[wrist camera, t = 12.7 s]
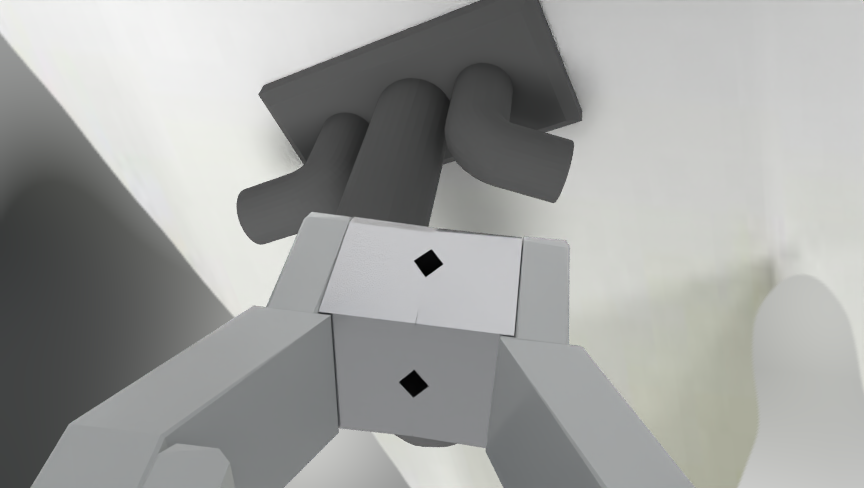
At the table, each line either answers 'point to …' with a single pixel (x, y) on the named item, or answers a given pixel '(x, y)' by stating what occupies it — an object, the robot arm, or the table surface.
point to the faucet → (420, 122)
